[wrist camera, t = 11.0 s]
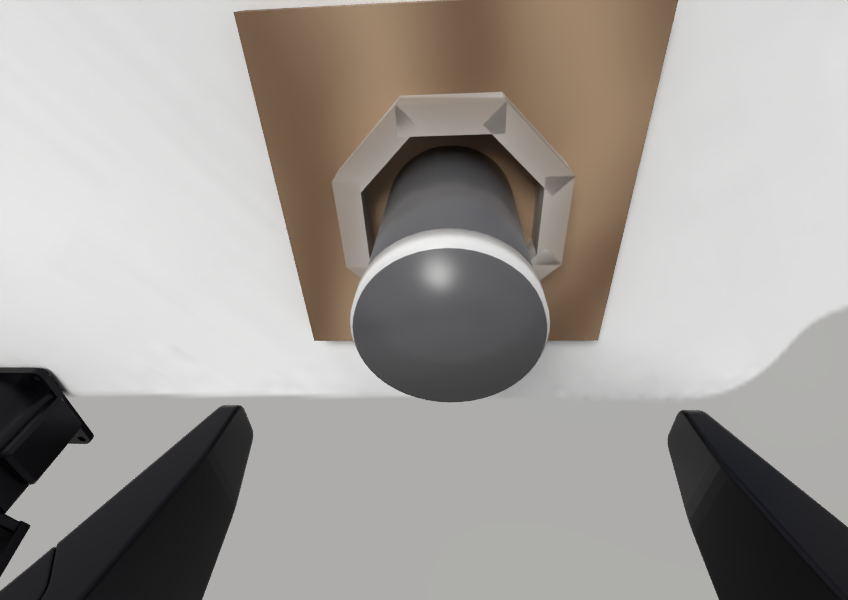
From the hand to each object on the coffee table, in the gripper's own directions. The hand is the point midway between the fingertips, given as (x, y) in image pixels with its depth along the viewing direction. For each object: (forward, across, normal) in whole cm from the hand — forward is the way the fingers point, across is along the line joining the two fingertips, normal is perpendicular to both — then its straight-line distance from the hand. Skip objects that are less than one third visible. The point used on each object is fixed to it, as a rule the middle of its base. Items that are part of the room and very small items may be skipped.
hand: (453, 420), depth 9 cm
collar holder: (+12, 0, 0) cm, 12 cm away
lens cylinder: (+11, 0, 0) cm, 11 cm away
